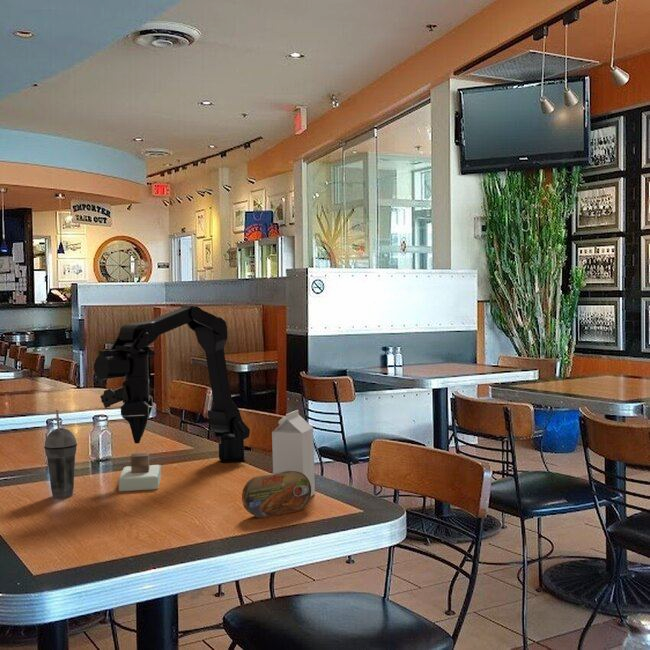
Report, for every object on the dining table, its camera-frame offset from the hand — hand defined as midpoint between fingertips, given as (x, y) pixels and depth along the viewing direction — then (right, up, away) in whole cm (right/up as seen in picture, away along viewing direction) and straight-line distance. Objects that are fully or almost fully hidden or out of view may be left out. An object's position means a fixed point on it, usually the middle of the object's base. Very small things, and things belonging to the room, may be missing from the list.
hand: (138, 440), depth 196 cm
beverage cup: (-15, -12, -10) cm, 21 cm away
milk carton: (+38, -11, -17) cm, 43 cm away
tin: (+35, -11, -30) cm, 47 cm away
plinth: (0, -11, +1) cm, 11 cm away
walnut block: (0, -8, +1) cm, 8 cm away
